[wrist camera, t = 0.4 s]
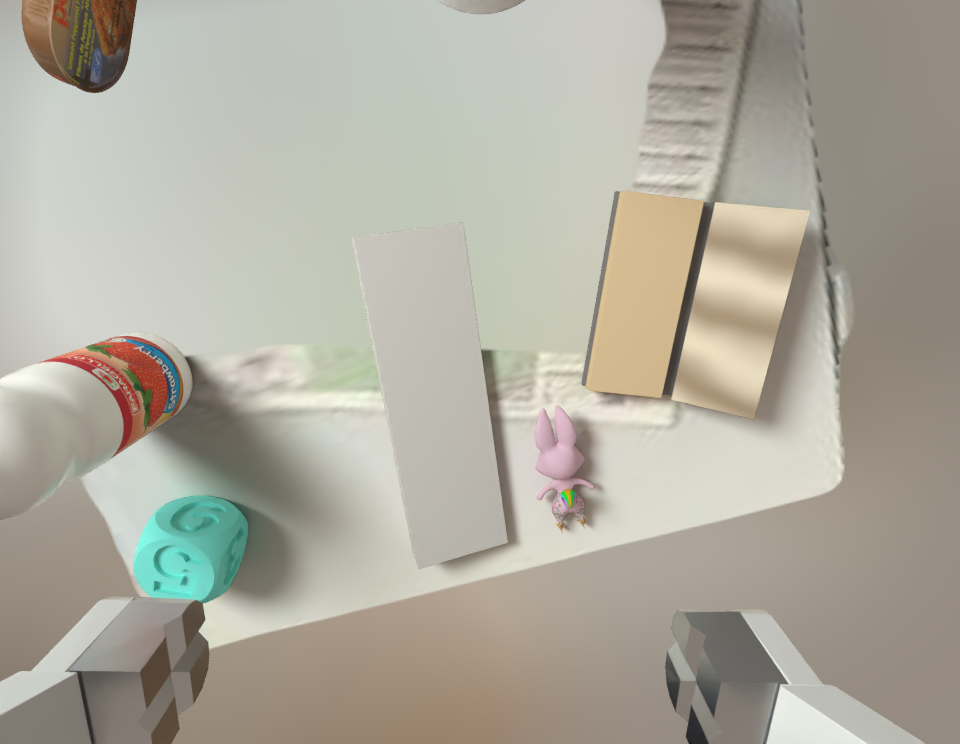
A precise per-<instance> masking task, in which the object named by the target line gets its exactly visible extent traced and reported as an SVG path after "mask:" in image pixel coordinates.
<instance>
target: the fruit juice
mask: <svg viewBox="0 0 960 744" xmlns="http://www.w3.org/2000/svg"><path fill="white" fill-rule="evenodd" d="M191 391H192V373H191V370H190V367H189V364H188V362H187V361H186V359H185V357H184V356H183V355H182V353H181V352H180V351H179V350H178V349H177V348H176V347H175V346H174V345H172V344H171V343H170V342H168V341H166V340H164V339H163V338H161V337H158V336H155V335H151V334H147V333H128V334H123V335H120V336H116V337H113V338H110V339H107V340H105V341H101V342H98V343H95V344H92V345H90V346H87V347H84V348H81V349H78V350H75V351H72V352H69V353H66V354H63V355H60V356H58V357H55V358H52V359H49V360H46V361H43V362H40V363H37V364H33V365H30V366H27V367H24V368H22V369H20V370H17V371H15V372H13V373H10V374H8V375H6V376H4V377H2V378H1V379H0V520H4V519H8V518H12V517H15V516H18V515H20V514H23V513H25V512H27V511H29V510H31V509H32V508H34V507H36V506H37V505H39V504H41V503H42V502H44V501H45V500H46V499H48V498H49V497H50V496H51V495H52V494H53V493H54V492H55V491H56V490H57V489H58V487H59V486H60V485H61V484H64V483H67V482H71V481H73V480H76V479H78V478H80V477H82V476H84V475H86V474H88V473H90V472H91V471H93V470H95V469H97V468H98V467H100V466H101V465H103V464H104V463H106V462H107V461H108V460H110V459H111V458H113V457H114V456H116V455H117V454H119V453H120V452H122V451H123V450H124V449H126V448H127V447H129V446H130V445H132V444H133V443H135V442H136V441H138V440H139V439H141V438H142V437H144V436H145V435H147V434H148V433H150V432H151V431H153V430H154V429H156V428H157V427H159V426H160V425H162V424H163V423H165V422H166V421H168V420H169V419H170V418H172V417H173V416H175V415H176V414H177V413H178V412H179V411H180V410H181V409H182V408H183V407H184V406H185V405H186V403H187V401H188V399H189V397H190V395H191Z"/></svg>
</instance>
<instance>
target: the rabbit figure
mask: <svg viewBox="0 0 960 744" xmlns="http://www.w3.org/2000/svg"><path fill="white" fill-rule="evenodd" d="M555 409H556V415H555V424H556V432H557V439H558V441H556V442H555V438H554V433H553V429H552V425H551V422H550V420H549V418H548V416H547V413H546V411H545V409H542V410H541V411H540V414H539V417H538V421H537V426H536V439H535V440H536V446H537V447H538V449H539V450H540V451H541V454H540V456H539V459H538V462H537V464H536V469H537V471H538V472H540V473H542V474H544V475H546V476H548V477H550V478H553V479H555V480H554V481H553V482H551V483H550V484H548V485H547V486H546V487H545V488H544V489H543V490H542V491H541V492H540V493H539V495H538V496H537V499H538V500H541V499H542V498H543V496H544V495H545V493H547V492H548V491H550V490H552V489H555V490H557V492H558V493H557V496H556V497H555V499H554V501H553V504H552V512H553V514H554V516H555V518H556V520H557V521H558V523H559V524H556V525H557V526H558V527H559V528H560V530H561V531H562V528H563V524H565V523H563V521H564V519H565V517H566V515H567V514H568V513H573V514H574V515H576V516H577V517H578V518H579V519H580V520H577V521H579V522H580V523H581V524H582V526H583V528H584V529H585V527H584V522H585V518H584V513H585V504H584V501H583V499H582V498H581V497H580V496H579V495H578V494H576V493H575V491H573V487H574V485H577V484H581V485H585V486H587V487H588V488H589V489H591V490H593V489H594V488H595V486H594V485H593V484H591V483H589V482H588V481H585V480H583V479H579V478H575V477H571V476H572V475H574V474H575V473H576V472H577V470H578V469H579V468H580V467H581V465H582V464H583V462H584V456H583V455H582V454H581V453H580V452H579V451H578V449H577V448H576V447H575V443H576V440H577V433H576V430H575V428H574V425H573V423H572V421H571V419H570V418H569V417H568V415H567V414H566V413H565V411H564V410H563V409H562V408H561V407H559V406H556V408H555ZM562 534H563V531H562Z"/></svg>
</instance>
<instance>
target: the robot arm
mask: <svg viewBox="0 0 960 744" xmlns="http://www.w3.org/2000/svg"><path fill="white" fill-rule="evenodd" d="M438 1H439V2H441V3H443V4H444V5H446V6H448V7H451V8H453V9H455V10H458V11H462V12H466V13H471V14H491V13H497V12H501V11H504V10H507V9H510V8H512V7H514V6H516V5H518V4H520V3H521V2H523V1H525V0H438ZM204 621H205V615H204V609H203V603H201V602H200V601H198V600H193V599H171V598H148V597H139V598H135V597H113V596H109V597H107V598H104V599H102V600H100V601H99V602H98V603H97V604H96V605H95V606H94V607H93V608H92V609H91V610H90V611H89V612H88V613H87V614H86V615H85V616H84V617H83V618H82V619H81V620H80V621H79V622H78V623H77V624H76V625H75V626H74V627H73V629H71V630H70V632H69V633H68V634H67V635H66V636H65V637H64V638H63V639H62V640H61V641H60V642H59V643H58V644H57V645H56V646H55V647H54V648H53V649H52V650H51V651H50V652H49V653H48V654H47V655H46V656H45V657H44V658H43V659H42V660H41V662H40V663H38V665H37V666H36V667H35V668H34V669H33V670H32V671H30V672H28V671H27V672H26V671H20V672H18V673H17V674H14V675H13V676H11V677H9V678H7V679H5V680H3V681H1V682H0V744H171V743H172V741H173V740H174V738H175V736H176V734H177V733H178V731H179V721H178V715H179V714H181V713H182V712H183V711H185V710H186V709H188V708H189V707H190V706H192V705H193V704H194V703H195V701H196V699H197V697H198V695H199V693H200V692H201V690H202V688H203V684H204V681H205V678H206V674H207V671H208V664H209V646H208V641H207V640H206V639H205V638H204V637H203V636H202V635H201V634H200V633H199V632H198V631H199V629H200V627H201V626H202V624H203V623H204ZM671 631H672V633H673V635H674V637H675V639H676V642H675V643H674V644H673V645H672V646H671V647H670V648H669V649H668V651H667V658H666V665H665V669H666V682H667V688H668V692H669V696H670V699H671V702H672V704H673V707H674V709H675V712H676V713H678V714H679V715H680V716H681V717H682V718H684V719H685V720H686V721H687V722H688V726H687V732H686V738H687V741H688V743H689V744H925V743H924V742H922V741H920V740H919V739H917V738H916V737H914V736H913V735H911V734H909V733H908V732H906V731H905V730H903V729H901V728H900V727H898V726H897V725H895V724H893V723H892V722H890V721H889V720H887V719H886V718H884V717H882V716H881V715H879V714H878V713H876V712H874V711H873V710H871V709H870V708H868V707H866V706H865V705H863V704H862V703H860V702H858V701H857V700H855V699H854V698H852V697H851V696H849V695H847V694H846V693H844V692H842V691H841V690H839V689H838V688H836V687H835V686H833V685H823V684H822V682H821V681H820V680H819V679H818V677H817V676H816V674H815V673H814V672H813V671H812V669H811V668H810V667H809V665H808V664H807V663H806V661H805V660H804V659H803V657H802V656H801V655H800V653H799V652H798V651H797V649H796V648H795V647H794V646H793V644H792V643H791V641H790V640H789V639H788V637H787V636H786V635H785V634H784V632H783V631H782V630H781V628H780V627H779V626H778V624H777V623H776V622H775V620H774V619H773V618H772V616H771V615H770V614H769V613H767V612H766V611H764V610H733V611H728V610H725V611H722V610H676V612H675V614H674V616H673V619H672V625H671Z"/></svg>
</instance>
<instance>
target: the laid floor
mask: <svg viewBox="0 0 960 744" xmlns="http://www.w3.org/2000/svg"><path fill="white" fill-rule="evenodd" d="M714 206H715V203H707V202H704V201H700V200H692V199H684V198H676V197H668V196H660V195H652V194H644V193H635V192H627V191H622V192H617V191H616V192H615V195H614V200H613V206H612V212H611V217H610V223H609V230H608V235H607V240H606V246H605V252H604V259H603V263H602V270H601V275H600V281H599V286H598V293H597V298H596V304H595V309H594V315H593V321H592V327H591V333H590V338H589V344H588V350H587V356H586V361H585V367H584V373H583V379H582V385H583V386H586V387H587V389H588V390H589V391H599V392H608V393H618V394H627V395H636V396H646V397H655V398H661V397H662V394H666V395H672V394H673V390H674V385H675V381H676V376H677V372H678V367H679V363H680V358H681V354H682V349H683V345H684V340H685V336H686V331H687V327H688V322H689V318H690V313H691V309H692V304H693V300H694V295H695V291H696V286H697V282H698V277H699V273H700V268H701V264H702V259H703V255H704V250H705V246H706V241H707V237H708V232H709V228H710V224H711V219H712V215H713V210H714Z"/></svg>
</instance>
